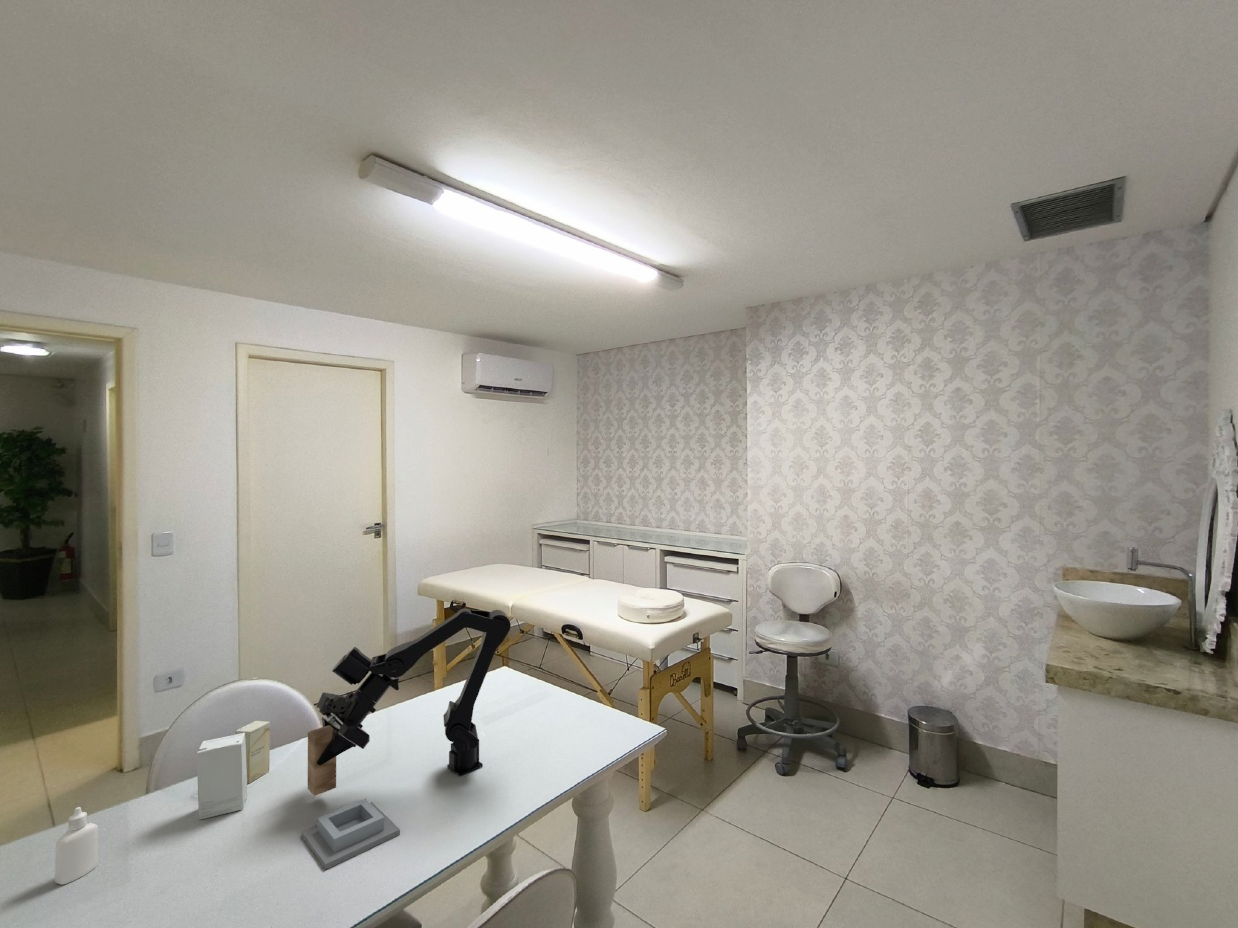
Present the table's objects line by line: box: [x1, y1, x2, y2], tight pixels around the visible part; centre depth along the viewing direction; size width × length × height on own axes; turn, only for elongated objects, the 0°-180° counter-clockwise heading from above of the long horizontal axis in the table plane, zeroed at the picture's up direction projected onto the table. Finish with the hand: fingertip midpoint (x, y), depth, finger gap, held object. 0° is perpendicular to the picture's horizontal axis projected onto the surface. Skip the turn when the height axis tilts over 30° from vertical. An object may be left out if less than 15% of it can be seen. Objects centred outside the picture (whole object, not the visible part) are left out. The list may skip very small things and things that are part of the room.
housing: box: [300, 798, 401, 870], centre depth 112 cm, size 14×14×4 cm
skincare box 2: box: [234, 720, 271, 784], centre depth 135 cm, size 6×4×12 cm
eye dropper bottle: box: [54, 806, 99, 886], centre depth 102 cm, size 4×6×12 cm
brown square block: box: [307, 725, 337, 797], centre depth 124 cm, size 4×4×12 cm
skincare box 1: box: [196, 733, 248, 821], centre depth 122 cm, size 8×6×15 cm
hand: (315, 760), depth 123 cm, fingers closed on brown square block, 5 cm apart
